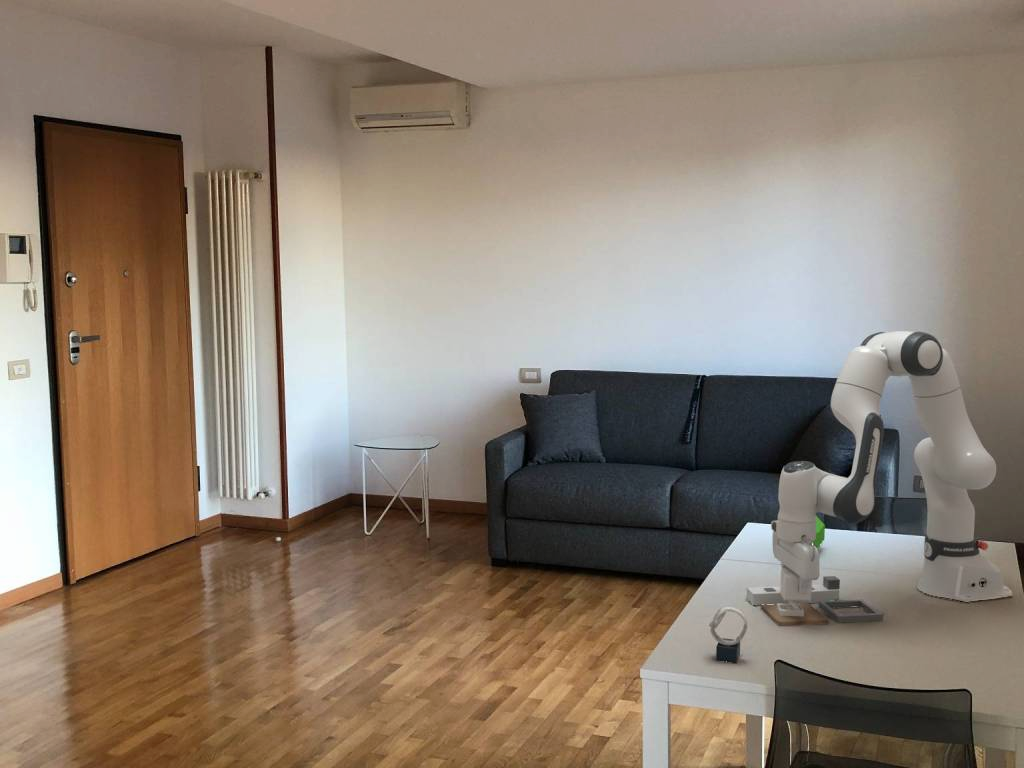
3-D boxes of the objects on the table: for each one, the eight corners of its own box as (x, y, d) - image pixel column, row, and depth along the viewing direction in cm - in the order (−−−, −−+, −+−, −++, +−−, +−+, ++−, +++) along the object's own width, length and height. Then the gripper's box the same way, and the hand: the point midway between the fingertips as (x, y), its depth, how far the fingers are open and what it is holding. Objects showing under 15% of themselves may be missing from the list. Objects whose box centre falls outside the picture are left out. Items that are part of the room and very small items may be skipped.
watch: (710, 650, 231) (711, 601, 230) (748, 655, 229) (749, 605, 227) (706, 659, 226) (707, 610, 225) (745, 664, 223) (746, 614, 222)
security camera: (811, 617, 249) (812, 576, 248) (780, 616, 250) (781, 575, 249) (805, 608, 255) (807, 568, 254) (776, 607, 256) (777, 567, 255)
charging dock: (861, 605, 261) (861, 598, 260) (882, 620, 250) (882, 613, 250) (818, 607, 259) (819, 600, 259) (837, 622, 248) (838, 615, 248)
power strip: (832, 595, 268) (833, 574, 267) (846, 606, 260) (847, 584, 259) (746, 599, 265) (746, 578, 265) (757, 610, 257) (758, 588, 257)
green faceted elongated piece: (821, 503, 315) (804, 522, 288) (835, 539, 314) (819, 562, 287) (785, 513, 320) (764, 533, 293) (798, 550, 319) (779, 573, 292)
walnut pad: (808, 606, 260) (808, 602, 259) (828, 623, 248) (828, 619, 248) (760, 609, 258) (760, 605, 258) (779, 626, 246) (779, 621, 246)
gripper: (827, 541, 240) (825, 600, 242) (793, 519, 261) (791, 574, 262) (801, 542, 240) (799, 602, 241) (768, 520, 260) (766, 575, 262)
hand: (794, 587), depth 252 cm, fingers open, 8 cm apart
